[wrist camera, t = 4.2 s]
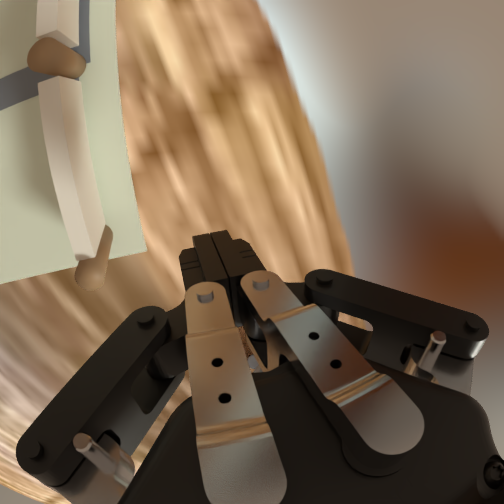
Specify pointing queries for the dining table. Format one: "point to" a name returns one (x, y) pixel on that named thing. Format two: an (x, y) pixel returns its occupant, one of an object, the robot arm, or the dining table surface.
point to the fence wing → (75, 178)
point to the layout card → (35, 154)
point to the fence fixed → (57, 40)
